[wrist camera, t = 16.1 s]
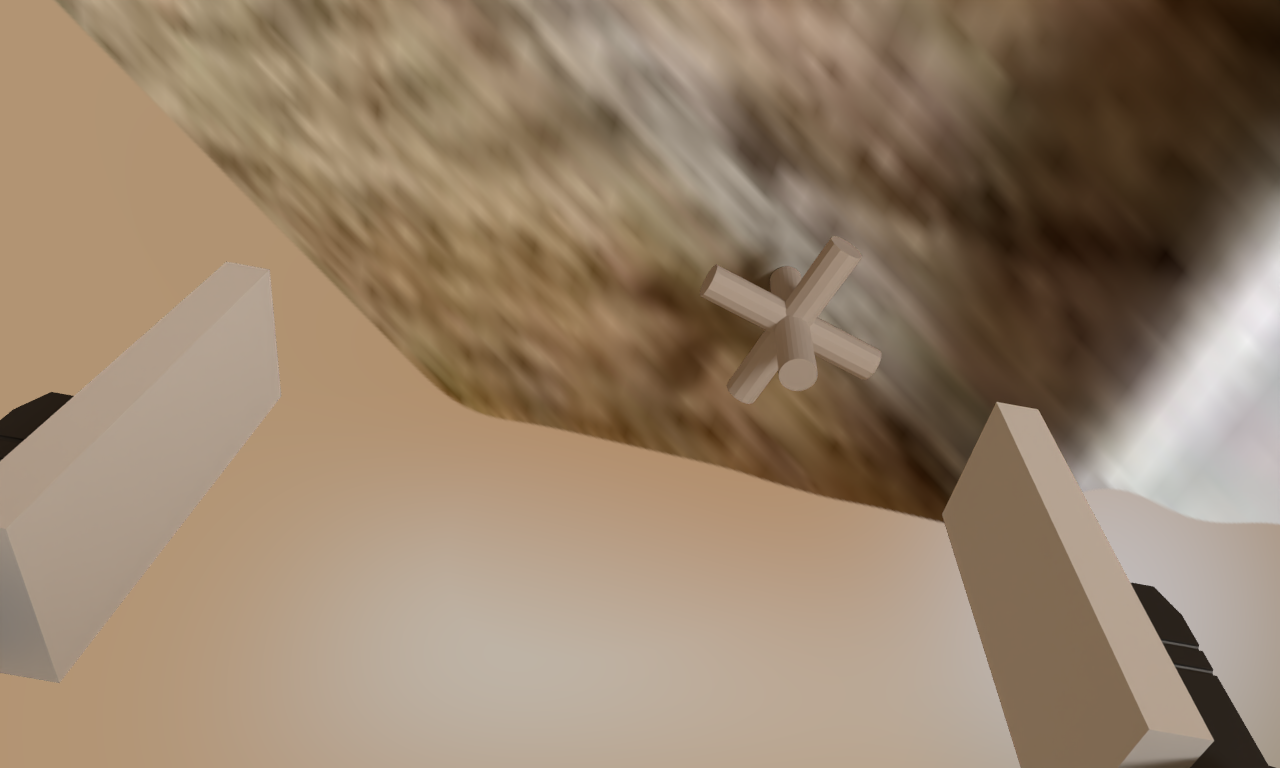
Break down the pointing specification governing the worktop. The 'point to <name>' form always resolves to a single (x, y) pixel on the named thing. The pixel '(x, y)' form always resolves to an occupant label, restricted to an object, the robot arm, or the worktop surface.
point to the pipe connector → (792, 323)
